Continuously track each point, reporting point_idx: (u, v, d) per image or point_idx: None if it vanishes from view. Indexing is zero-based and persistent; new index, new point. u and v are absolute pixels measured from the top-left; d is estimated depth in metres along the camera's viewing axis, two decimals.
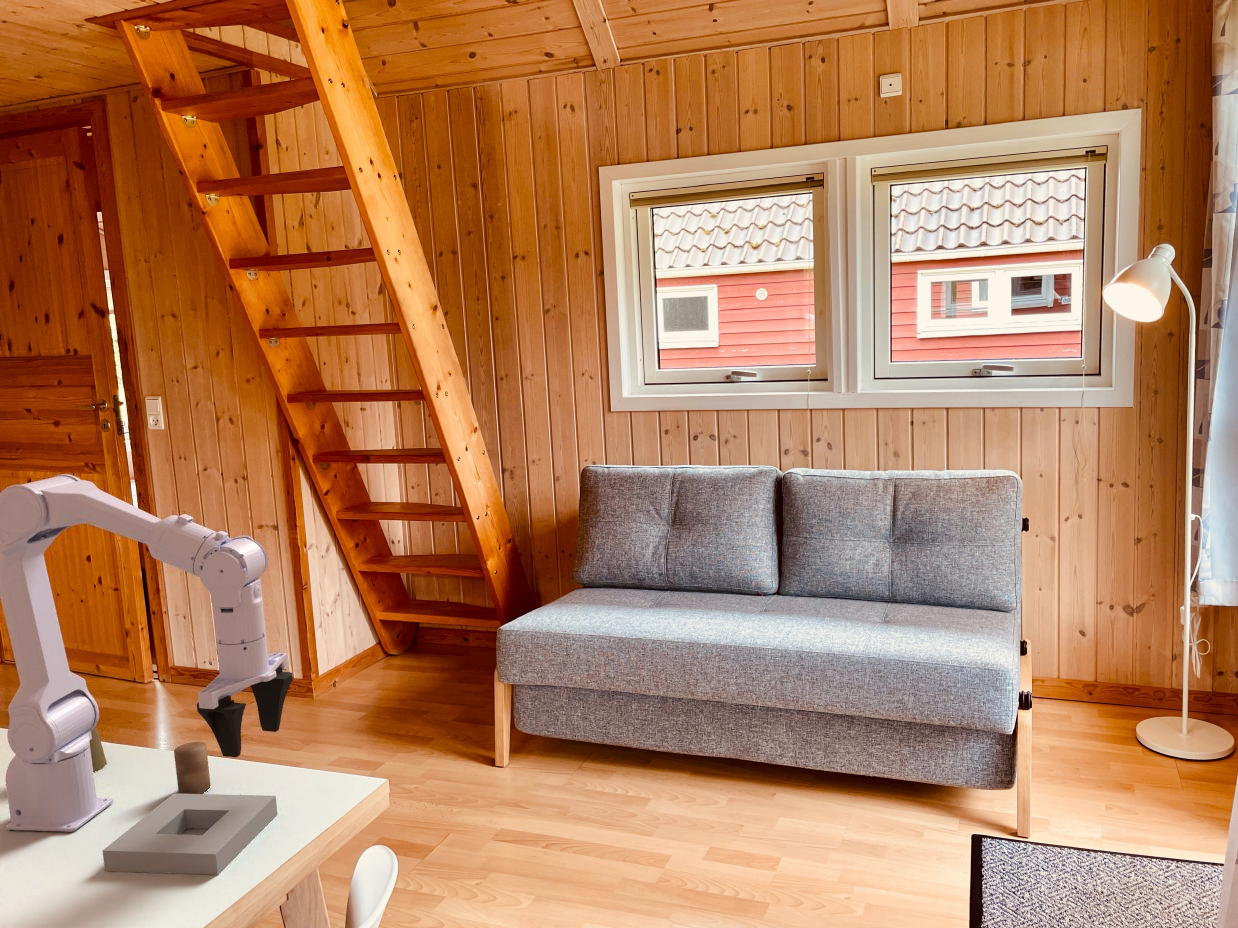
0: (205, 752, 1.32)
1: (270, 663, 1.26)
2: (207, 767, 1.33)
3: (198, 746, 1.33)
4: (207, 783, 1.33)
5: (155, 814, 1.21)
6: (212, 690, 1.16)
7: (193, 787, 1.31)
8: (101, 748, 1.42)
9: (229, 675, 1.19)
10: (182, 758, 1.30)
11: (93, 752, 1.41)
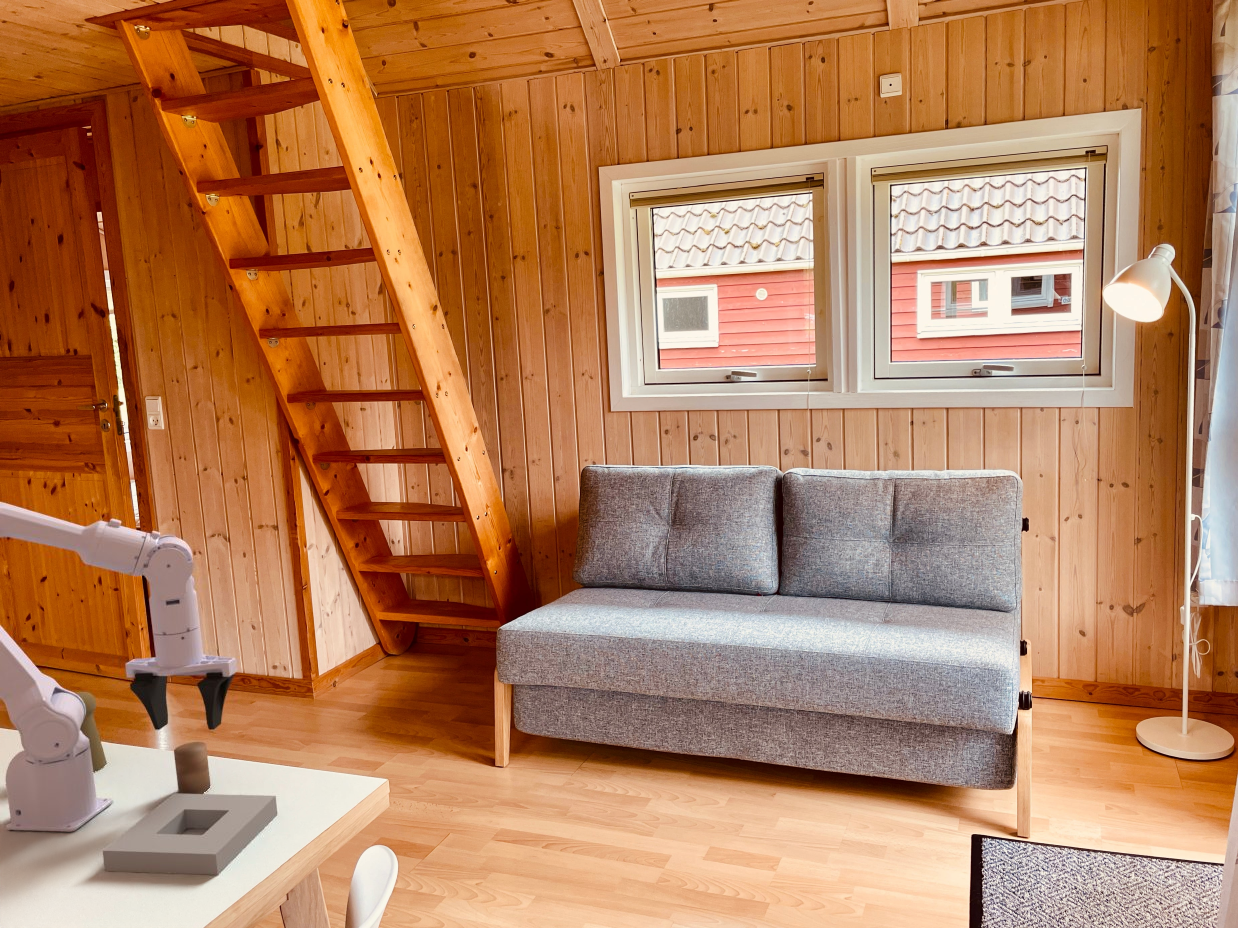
0: (205, 752, 1.32)
1: None
2: (207, 767, 1.33)
3: (198, 746, 1.33)
4: (207, 783, 1.33)
5: (155, 814, 1.21)
6: (137, 662, 1.31)
7: (193, 787, 1.31)
8: (101, 748, 1.42)
9: None
10: (182, 758, 1.30)
11: (93, 752, 1.41)
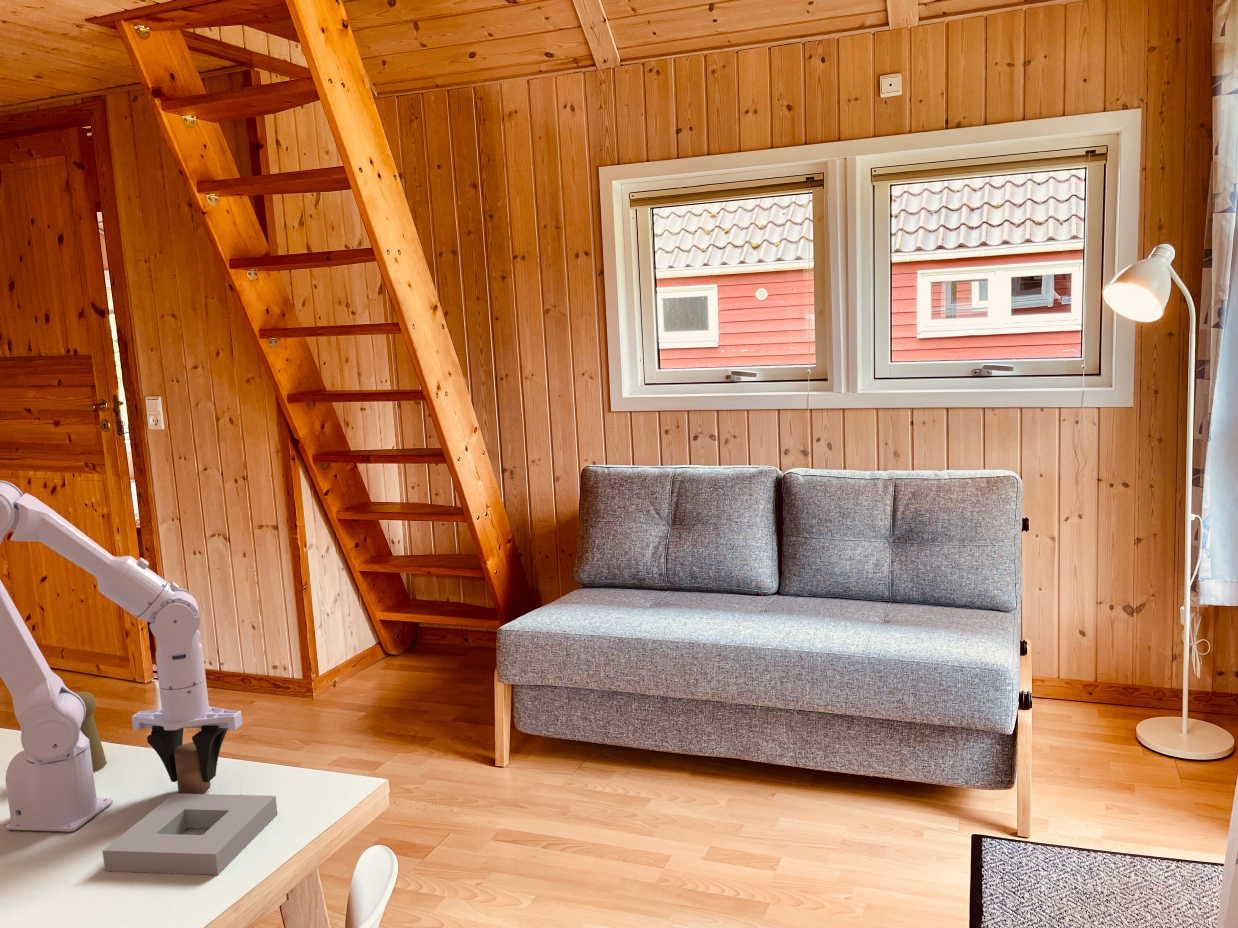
0: None
1: None
2: None
3: None
4: (207, 783, 1.33)
5: (155, 814, 1.21)
6: (143, 714, 1.32)
7: (193, 787, 1.31)
8: (101, 748, 1.42)
9: None
10: (182, 758, 1.30)
11: (93, 752, 1.41)
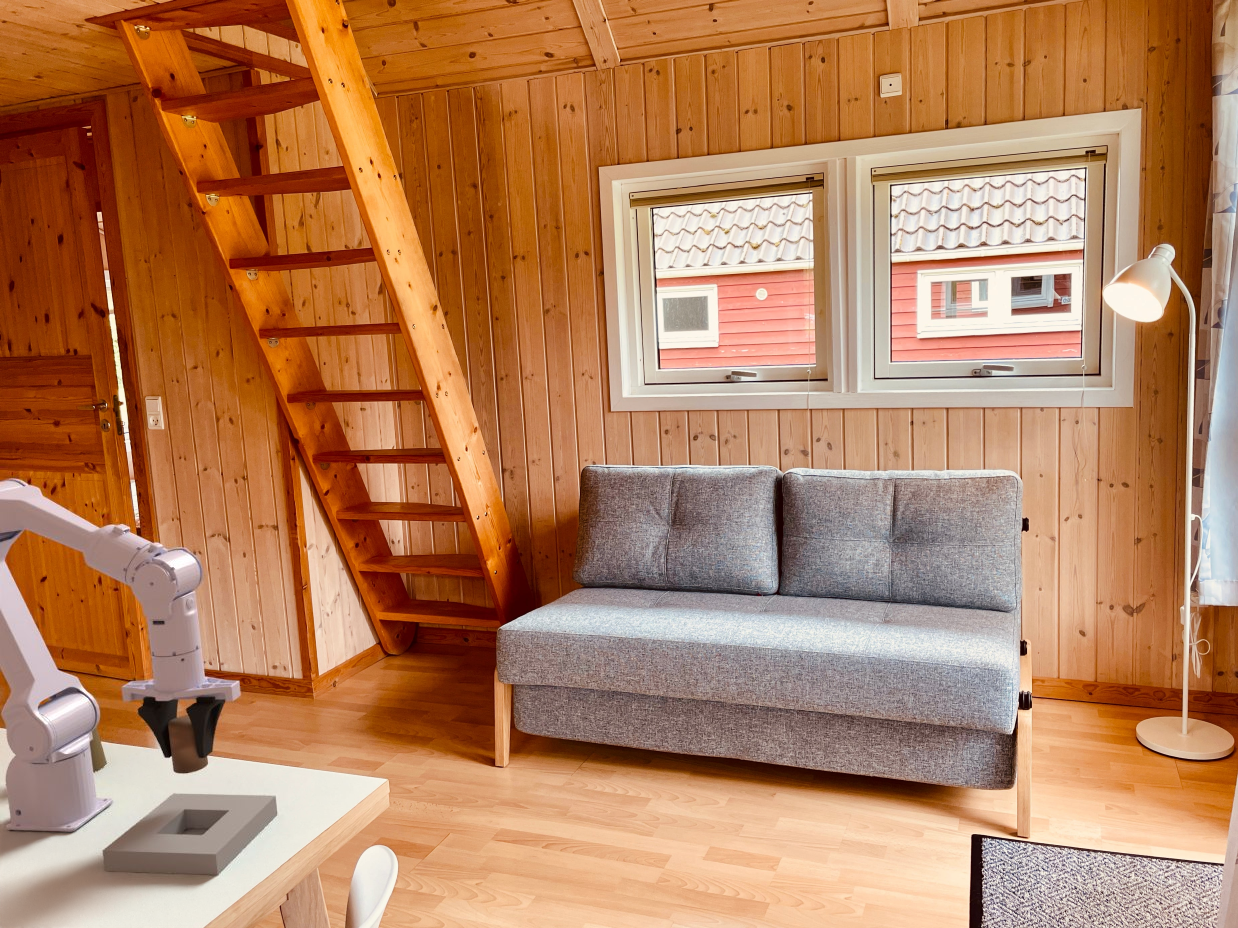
0: None
1: None
2: None
3: None
4: (204, 758, 1.23)
5: (155, 814, 1.21)
6: (134, 685, 1.22)
7: (190, 762, 1.21)
8: (101, 748, 1.42)
9: None
10: (178, 731, 1.20)
11: (93, 752, 1.41)
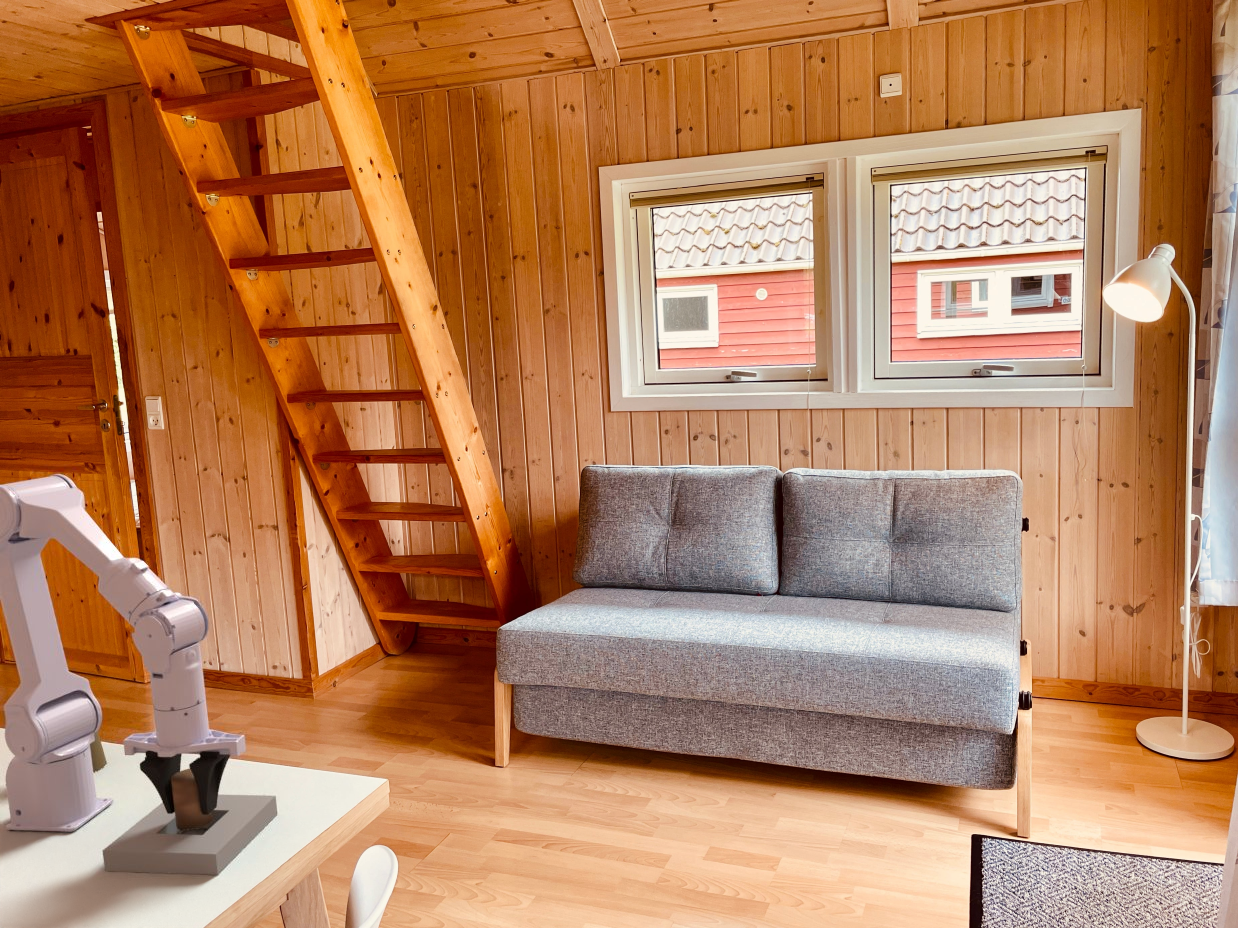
0: None
1: None
2: None
3: None
4: (208, 814, 1.19)
5: (155, 814, 1.21)
6: (136, 738, 1.18)
7: (194, 819, 1.17)
8: (101, 748, 1.42)
9: None
10: (181, 787, 1.16)
11: (93, 752, 1.41)
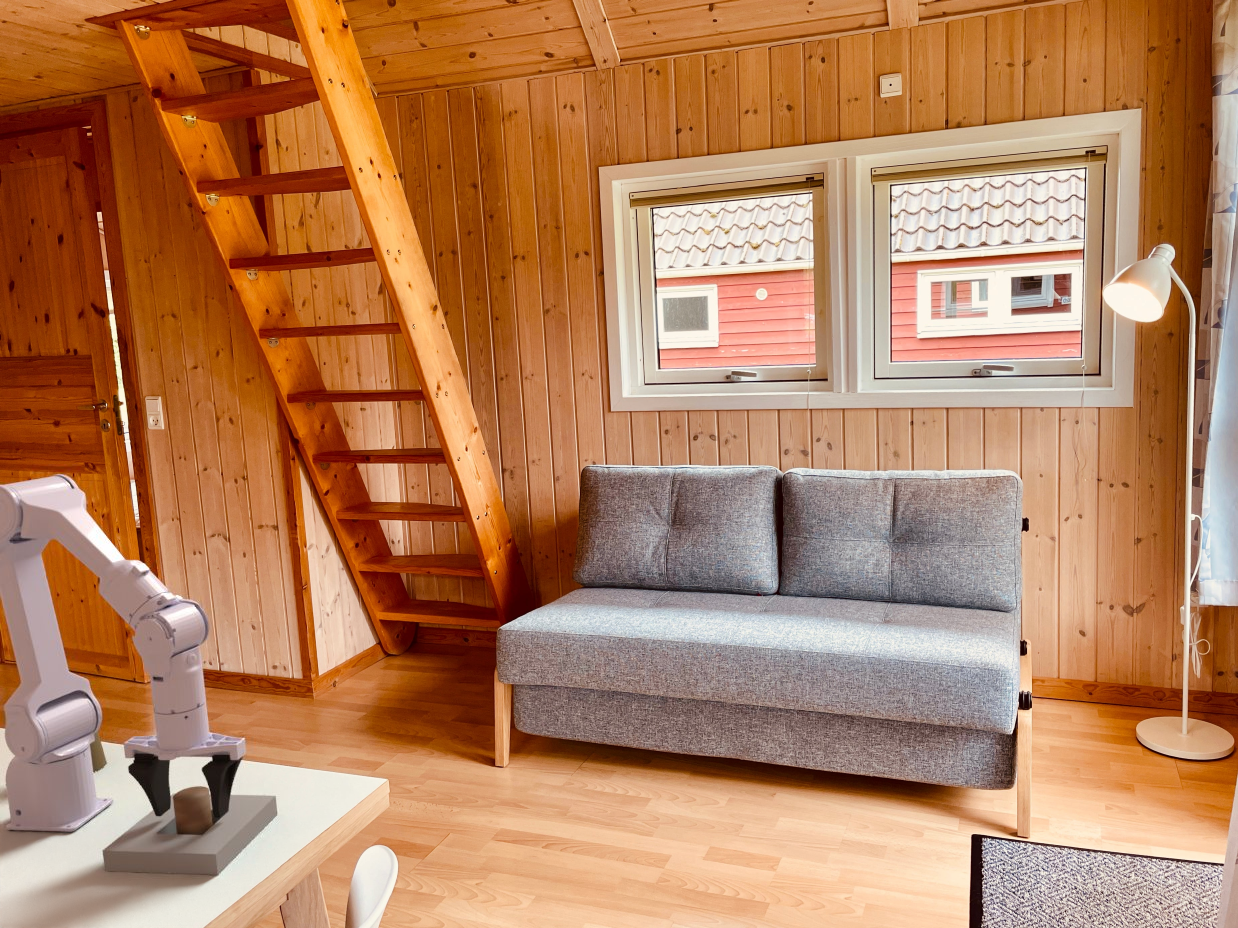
0: (208, 798, 1.19)
1: None
2: (210, 815, 1.19)
3: (200, 792, 1.19)
4: None
5: None
6: (136, 741, 1.18)
7: None
8: (101, 748, 1.42)
9: None
10: (183, 806, 1.17)
11: (93, 752, 1.41)
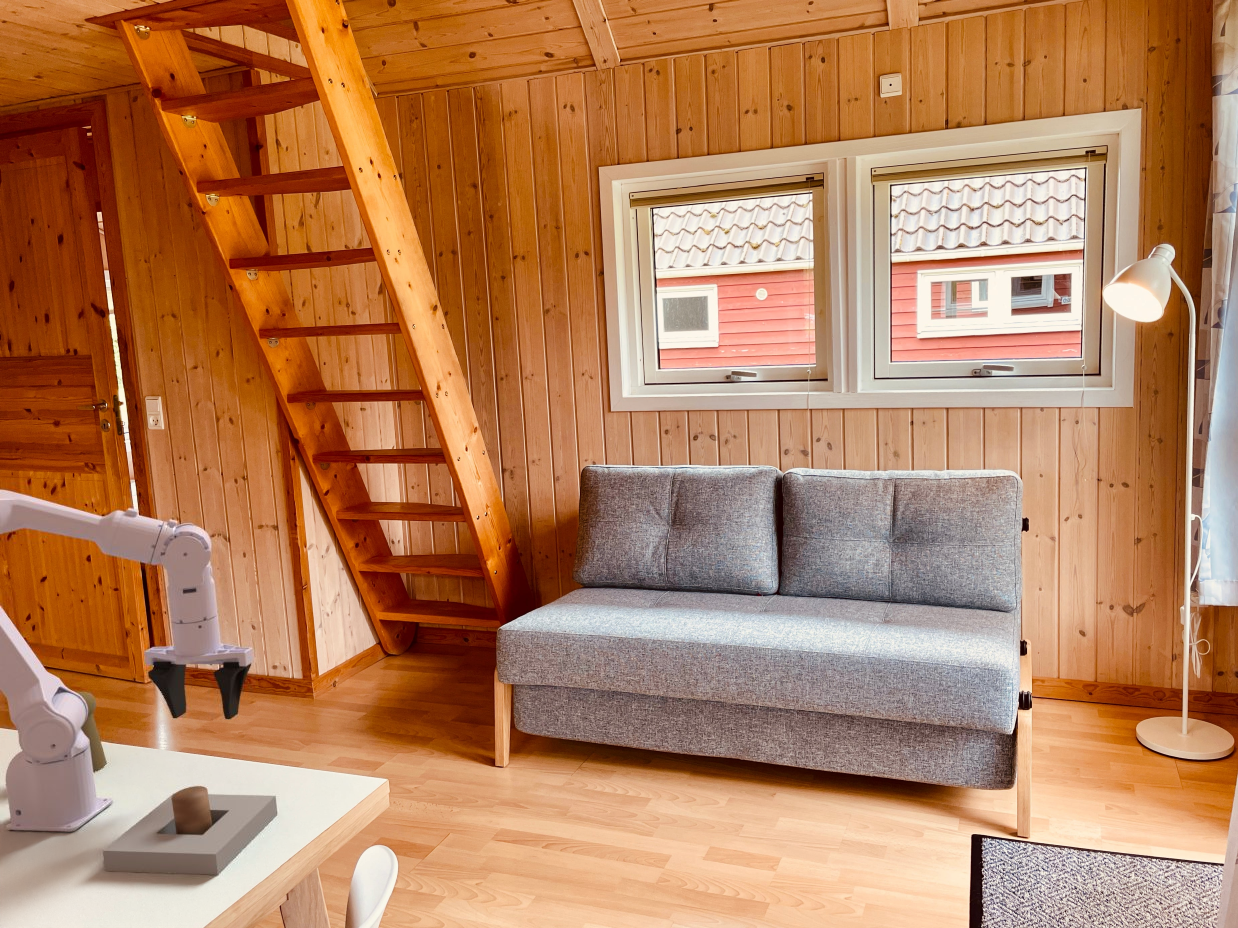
0: (207, 798, 1.19)
1: None
2: (209, 814, 1.19)
3: (198, 791, 1.19)
4: None
5: (155, 814, 1.21)
6: (155, 650, 1.31)
7: None
8: (101, 748, 1.42)
9: None
10: (182, 806, 1.17)
11: (93, 752, 1.41)
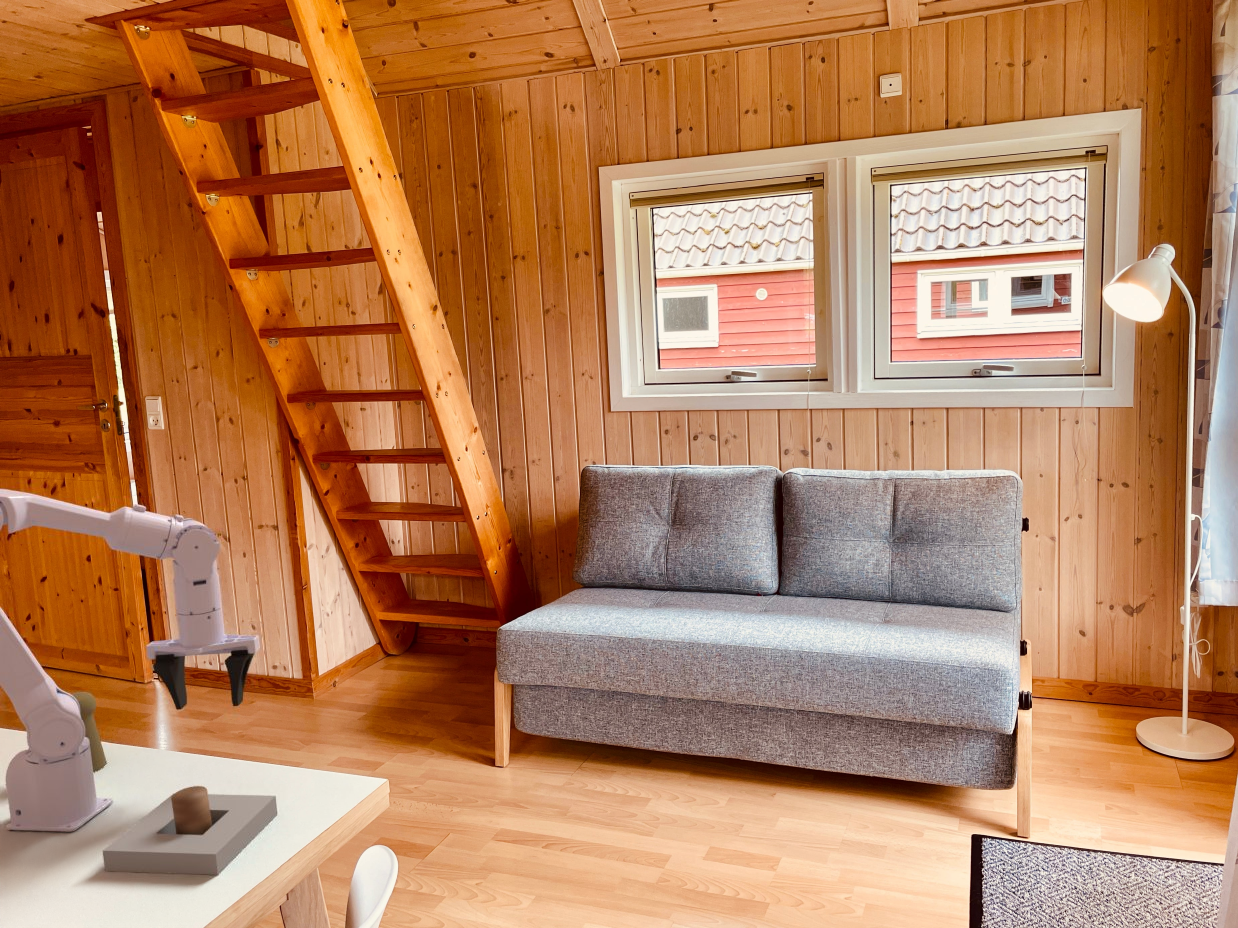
0: (207, 797, 1.19)
1: None
2: (209, 814, 1.19)
3: (198, 791, 1.19)
4: None
5: (155, 814, 1.21)
6: (157, 644, 1.34)
7: None
8: (101, 748, 1.42)
9: None
10: (183, 807, 1.17)
11: (93, 752, 1.41)
